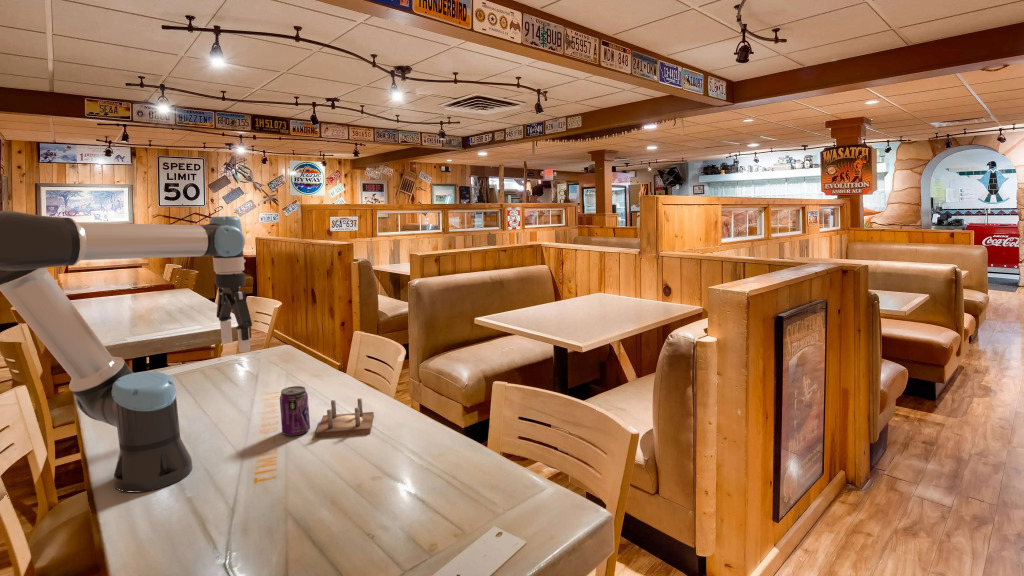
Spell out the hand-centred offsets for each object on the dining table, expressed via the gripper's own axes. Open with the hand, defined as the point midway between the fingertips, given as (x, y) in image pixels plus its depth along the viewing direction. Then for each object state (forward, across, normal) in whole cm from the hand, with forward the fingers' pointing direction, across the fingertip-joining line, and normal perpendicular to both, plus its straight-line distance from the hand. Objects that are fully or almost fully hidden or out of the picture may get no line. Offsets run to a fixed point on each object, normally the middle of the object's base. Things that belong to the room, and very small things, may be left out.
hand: (235, 347), depth 158 cm
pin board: (+21, -27, -18) cm, 39 cm away
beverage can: (+22, -20, -7) cm, 30 cm away
